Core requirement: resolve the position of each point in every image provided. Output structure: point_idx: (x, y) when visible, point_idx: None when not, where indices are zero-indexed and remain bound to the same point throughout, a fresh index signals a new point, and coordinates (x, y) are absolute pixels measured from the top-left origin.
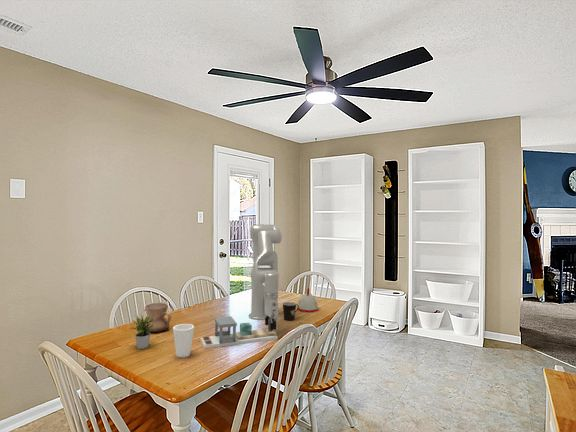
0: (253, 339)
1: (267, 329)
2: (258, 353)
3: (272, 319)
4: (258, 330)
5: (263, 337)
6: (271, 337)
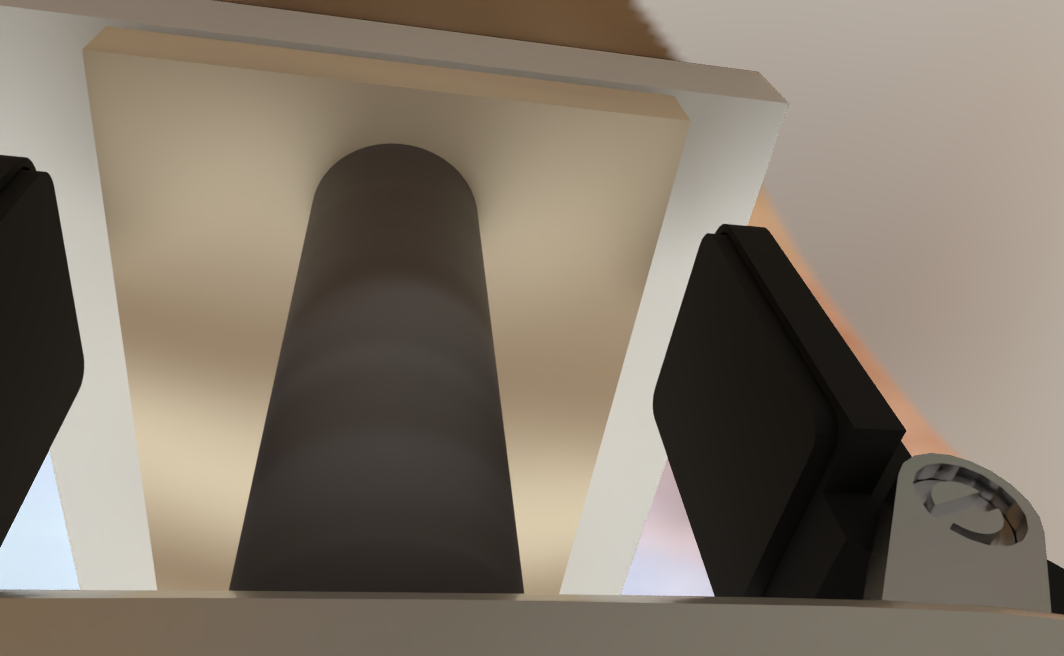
0: None
1: (198, 244)
2: None
3: (500, 529)
4: (214, 496)
5: (618, 452)
6: None
